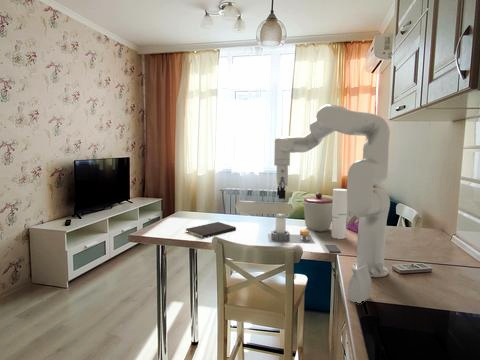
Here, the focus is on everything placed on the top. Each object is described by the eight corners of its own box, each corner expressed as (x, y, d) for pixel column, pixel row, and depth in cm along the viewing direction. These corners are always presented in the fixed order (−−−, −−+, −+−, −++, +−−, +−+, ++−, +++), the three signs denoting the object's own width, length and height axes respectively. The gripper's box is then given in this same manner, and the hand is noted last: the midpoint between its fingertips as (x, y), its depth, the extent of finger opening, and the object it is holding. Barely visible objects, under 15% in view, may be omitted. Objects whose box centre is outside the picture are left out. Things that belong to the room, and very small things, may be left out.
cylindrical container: (346, 239, 155) (348, 190, 152) (332, 238, 156) (333, 190, 154) (344, 235, 162) (346, 188, 159) (330, 234, 163) (332, 188, 161)
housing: (315, 245, 145) (315, 237, 145) (268, 244, 146) (269, 236, 146) (309, 236, 159) (310, 229, 159) (267, 235, 160) (267, 228, 160)
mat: (340, 252, 135) (340, 251, 135) (320, 252, 136) (320, 250, 136) (335, 246, 144) (335, 244, 144) (316, 245, 145) (316, 244, 145)
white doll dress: (370, 297, 95) (372, 266, 94) (359, 304, 91) (360, 272, 90) (359, 293, 98) (360, 263, 97) (348, 299, 94) (349, 268, 92)
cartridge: (285, 239, 150) (286, 216, 149) (275, 239, 150) (275, 215, 149) (285, 236, 155) (285, 213, 154) (274, 236, 156) (275, 213, 154)
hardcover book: (185, 232, 167) (185, 228, 167) (218, 225, 183) (218, 221, 182) (202, 239, 155) (202, 235, 155) (236, 231, 171) (236, 227, 171)
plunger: (309, 240, 150) (309, 232, 149) (300, 240, 150) (300, 232, 150) (308, 238, 154) (308, 229, 154) (299, 237, 155) (299, 229, 154)
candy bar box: (345, 228, 176) (346, 200, 174) (352, 227, 178) (353, 200, 176) (359, 233, 165) (360, 204, 164) (366, 232, 167) (368, 203, 165)
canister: (333, 235, 162) (335, 196, 160) (299, 231, 168) (300, 194, 166) (334, 226, 179) (336, 191, 177) (303, 224, 185) (304, 189, 183)
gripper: (291, 163, 140) (290, 200, 142) (287, 161, 157) (286, 194, 159) (275, 163, 140) (274, 199, 142) (273, 161, 157) (272, 194, 159)
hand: (281, 196), depth 151 cm, fingers open, 9 cm apart
